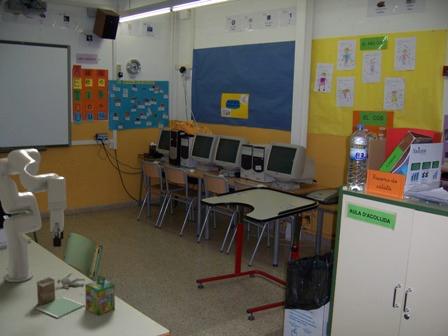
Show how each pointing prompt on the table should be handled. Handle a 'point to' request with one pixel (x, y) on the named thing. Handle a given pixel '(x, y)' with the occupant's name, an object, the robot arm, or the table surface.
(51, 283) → the walnut block
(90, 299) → the chalk box
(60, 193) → the robot arm
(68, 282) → the soldier figure
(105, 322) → the table surface
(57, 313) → the mat
